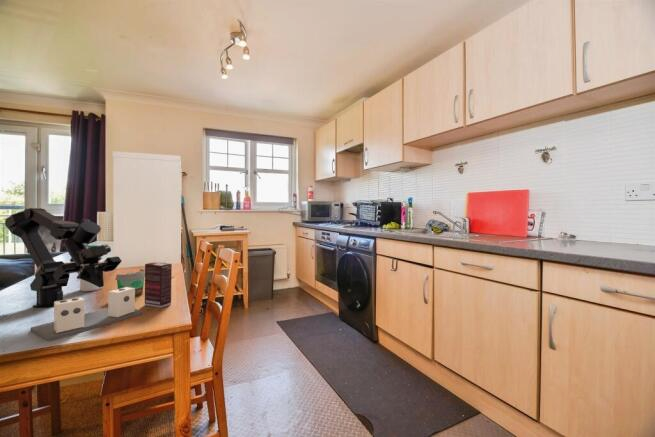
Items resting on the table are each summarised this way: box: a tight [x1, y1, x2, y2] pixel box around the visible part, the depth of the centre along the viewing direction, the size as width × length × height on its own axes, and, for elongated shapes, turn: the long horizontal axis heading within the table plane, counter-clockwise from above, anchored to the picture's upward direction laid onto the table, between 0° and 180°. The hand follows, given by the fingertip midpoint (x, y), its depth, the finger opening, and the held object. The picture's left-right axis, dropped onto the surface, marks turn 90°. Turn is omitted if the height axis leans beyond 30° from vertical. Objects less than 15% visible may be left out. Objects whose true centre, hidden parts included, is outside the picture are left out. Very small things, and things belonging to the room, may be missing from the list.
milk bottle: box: [79, 244, 103, 292], centre depth 125 cm, size 8×8×20 cm
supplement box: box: [144, 261, 173, 309], centre depth 107 cm, size 9×5×16 cm, turn 71°
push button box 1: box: [107, 287, 136, 317], centre depth 94 cm, size 4×6×8 cm
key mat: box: [30, 307, 143, 342], centre depth 90 cm, size 24×13×1 cm, turn 152°
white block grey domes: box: [53, 296, 85, 333], centre depth 82 cm, size 4×6×8 cm
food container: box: [115, 269, 145, 298], centre depth 118 cm, size 12×6×10 cm, turn 168°
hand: (101, 286), depth 97 cm, fingers closed
